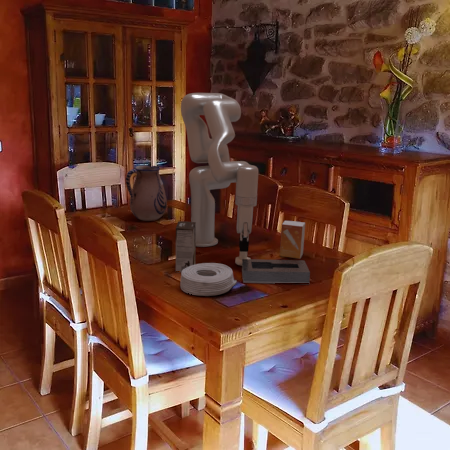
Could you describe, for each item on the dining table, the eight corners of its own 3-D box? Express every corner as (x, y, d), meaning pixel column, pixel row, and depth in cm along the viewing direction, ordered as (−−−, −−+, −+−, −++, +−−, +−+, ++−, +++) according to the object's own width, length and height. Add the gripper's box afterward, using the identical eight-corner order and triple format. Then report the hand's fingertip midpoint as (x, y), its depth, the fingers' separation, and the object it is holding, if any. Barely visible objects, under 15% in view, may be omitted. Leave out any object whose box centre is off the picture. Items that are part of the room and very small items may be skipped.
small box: (279, 256, 203) (281, 223, 200) (282, 251, 209) (284, 220, 206) (300, 259, 201) (302, 226, 197) (303, 254, 207) (305, 222, 203)
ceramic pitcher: (174, 218, 255) (174, 166, 249) (145, 227, 238) (144, 172, 232) (146, 212, 264) (145, 162, 258) (116, 221, 247) (115, 168, 241)
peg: (235, 265, 190) (237, 228, 186) (235, 259, 195) (236, 223, 191) (251, 265, 190) (253, 228, 186) (250, 260, 195) (252, 224, 191)
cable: (238, 281, 178) (239, 264, 176) (227, 301, 161) (227, 282, 160) (189, 275, 181) (189, 259, 180) (172, 295, 165) (172, 276, 163)
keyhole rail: (243, 282, 176) (243, 270, 175) (241, 270, 187) (242, 259, 186) (309, 284, 176) (310, 272, 175) (303, 271, 188) (304, 260, 186)
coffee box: (178, 263, 192) (178, 220, 188) (195, 264, 192) (196, 221, 188) (175, 272, 184) (175, 227, 179) (193, 273, 183) (193, 228, 179)
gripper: (234, 194, 194) (232, 242, 199) (236, 205, 178) (233, 257, 183) (255, 195, 194) (252, 243, 199) (258, 206, 178) (255, 257, 183)
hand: (243, 249), depth 191 cm, fingers closed on peg, 2 cm apart
